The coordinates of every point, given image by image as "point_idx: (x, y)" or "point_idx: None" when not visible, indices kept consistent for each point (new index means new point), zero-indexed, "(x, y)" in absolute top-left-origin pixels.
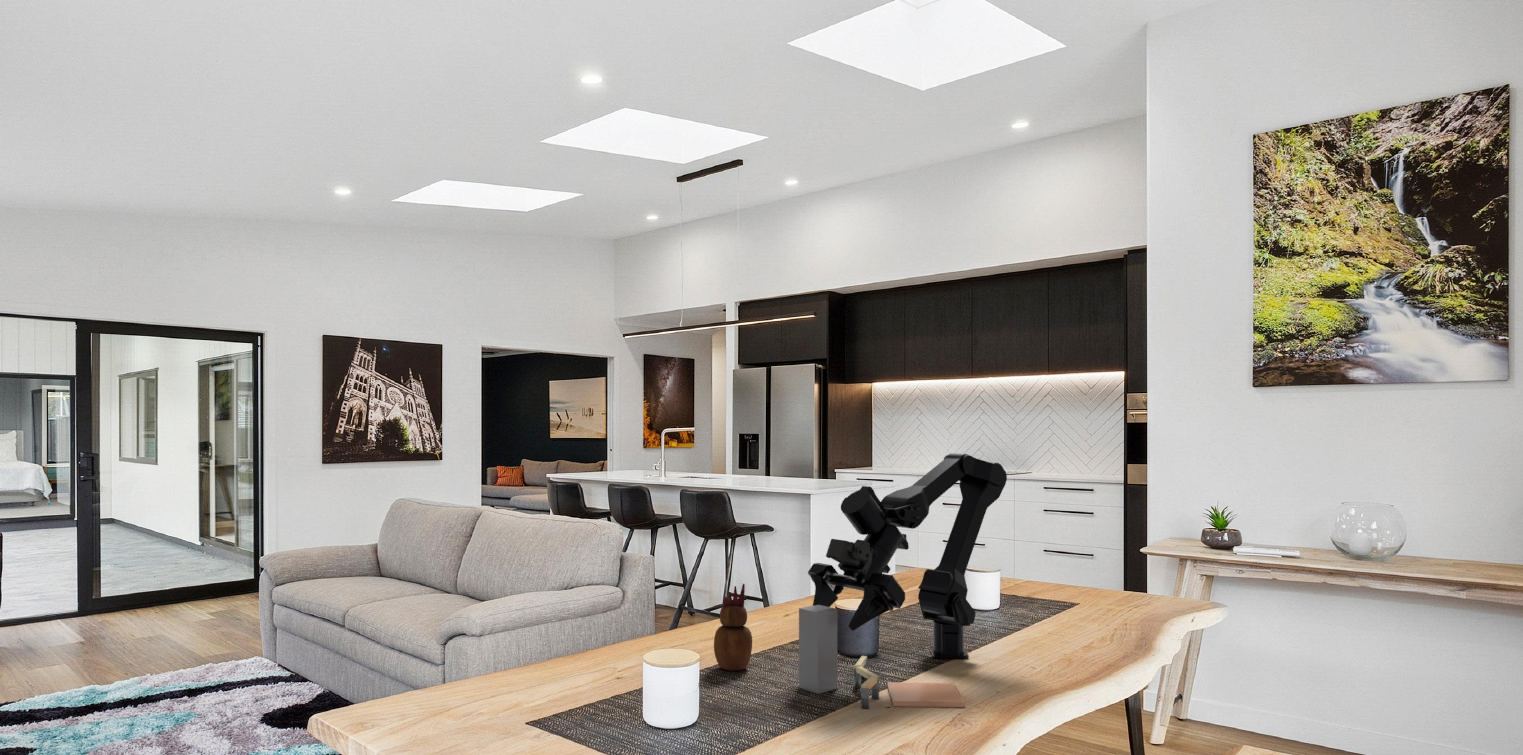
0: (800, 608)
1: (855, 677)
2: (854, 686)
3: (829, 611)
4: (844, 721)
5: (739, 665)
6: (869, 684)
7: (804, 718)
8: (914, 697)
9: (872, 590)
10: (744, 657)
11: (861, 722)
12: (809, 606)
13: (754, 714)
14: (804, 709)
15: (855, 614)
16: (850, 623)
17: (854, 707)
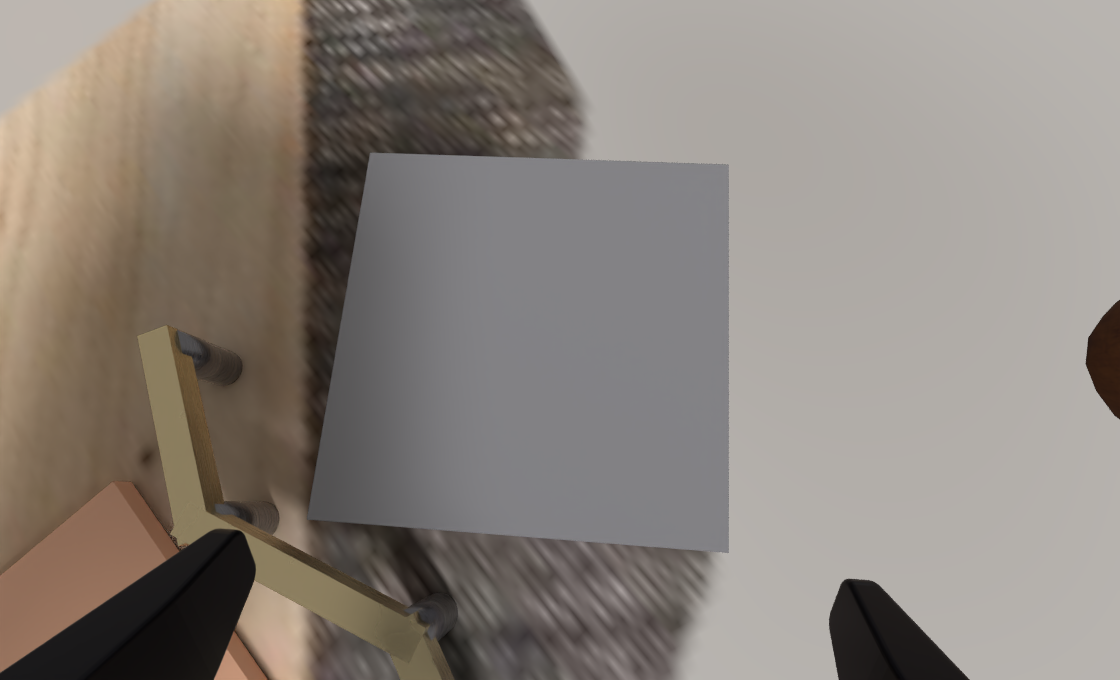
0: (698, 164)
1: (421, 601)
2: (442, 594)
3: (343, 363)
4: (203, 186)
5: (1094, 333)
6: (149, 381)
7: (341, 108)
8: (48, 607)
9: None
10: (1114, 340)
11: (144, 223)
12: (720, 348)
13: (510, 14)
14: None
15: (90, 642)
16: (202, 549)
17: (264, 341)
